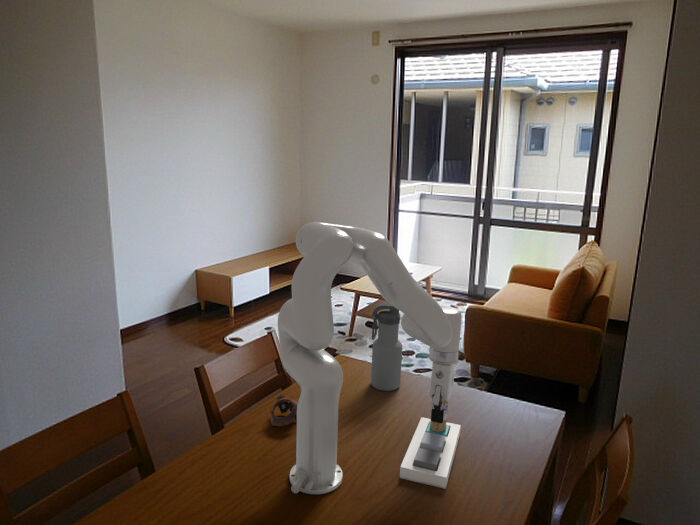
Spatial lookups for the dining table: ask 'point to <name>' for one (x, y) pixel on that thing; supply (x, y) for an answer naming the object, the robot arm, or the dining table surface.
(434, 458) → the charcoal key
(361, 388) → the dining table surface
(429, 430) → the teal key
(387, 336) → the water bottle
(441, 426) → the sprinkles bottle
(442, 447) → the slate key
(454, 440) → the keypad frame
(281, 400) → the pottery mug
